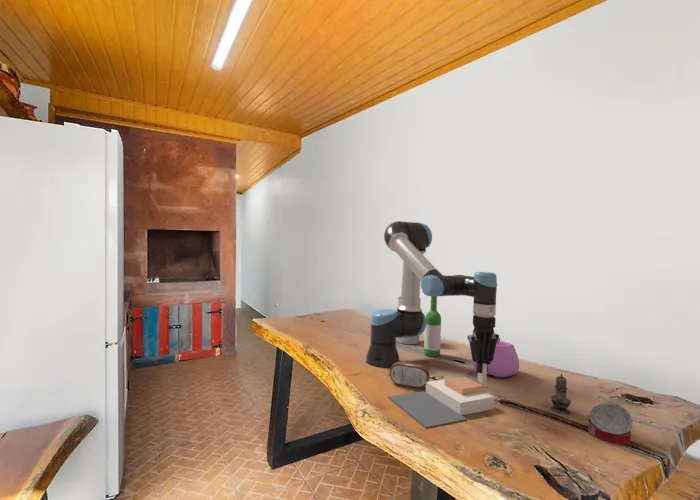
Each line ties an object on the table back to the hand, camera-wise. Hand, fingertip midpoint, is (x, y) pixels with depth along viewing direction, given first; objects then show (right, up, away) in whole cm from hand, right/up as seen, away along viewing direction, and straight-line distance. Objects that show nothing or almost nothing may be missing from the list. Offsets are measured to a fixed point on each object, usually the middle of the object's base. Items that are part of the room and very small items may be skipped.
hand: (481, 381), depth 123 cm
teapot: (+15, -6, +26) cm, 31 cm away
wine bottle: (-6, -6, +48) cm, 49 cm away
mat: (-23, -5, -11) cm, 26 cm away
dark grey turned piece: (+23, -6, -9) cm, 25 cm away
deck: (-10, -5, -4) cm, 12 cm away
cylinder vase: (-14, -5, +72) cm, 74 cm away
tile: (-8, -1, -3) cm, 9 cm away
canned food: (+27, -7, -24) cm, 37 cm away
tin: (-25, -5, +8) cm, 26 cm away
